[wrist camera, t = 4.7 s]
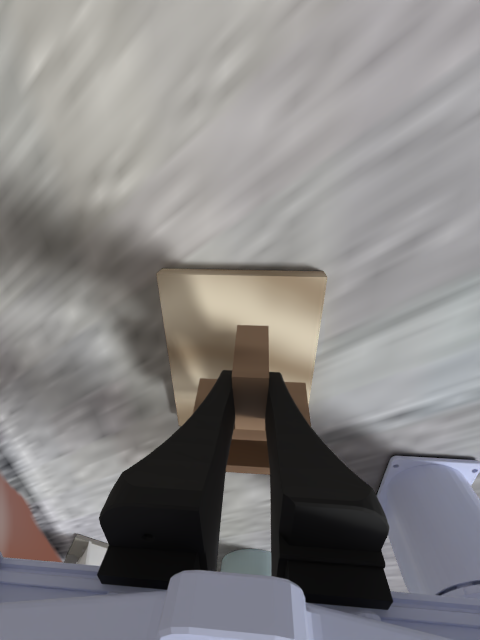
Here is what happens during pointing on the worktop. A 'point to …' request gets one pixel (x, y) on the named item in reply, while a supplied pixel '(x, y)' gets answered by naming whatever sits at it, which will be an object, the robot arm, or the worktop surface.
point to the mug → (248, 562)
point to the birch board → (238, 323)
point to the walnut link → (251, 400)
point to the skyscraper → (86, 551)
